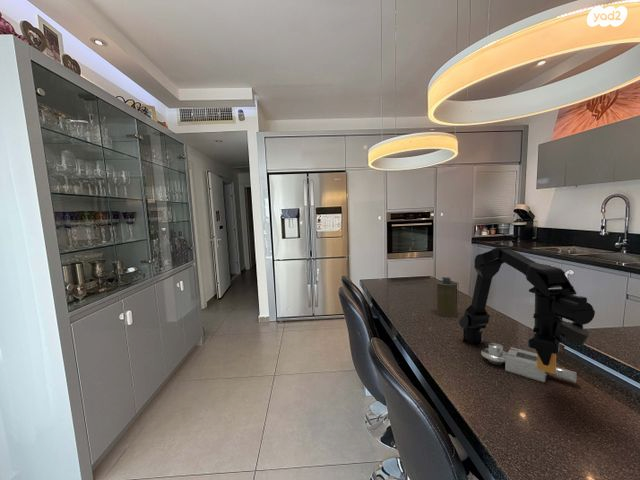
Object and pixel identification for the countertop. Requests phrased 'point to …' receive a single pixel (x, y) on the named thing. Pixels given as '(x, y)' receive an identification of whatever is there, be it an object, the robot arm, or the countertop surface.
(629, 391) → the countertop surface
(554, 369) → the wedge
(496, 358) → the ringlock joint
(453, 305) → the canister
